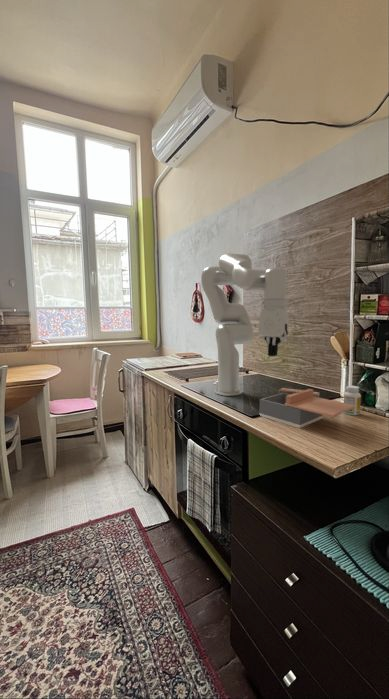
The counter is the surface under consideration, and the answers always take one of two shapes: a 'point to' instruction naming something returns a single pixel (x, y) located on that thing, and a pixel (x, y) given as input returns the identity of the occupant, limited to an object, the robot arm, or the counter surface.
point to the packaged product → (295, 391)
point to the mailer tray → (286, 411)
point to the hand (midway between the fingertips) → (272, 355)
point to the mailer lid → (316, 404)
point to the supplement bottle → (352, 399)
